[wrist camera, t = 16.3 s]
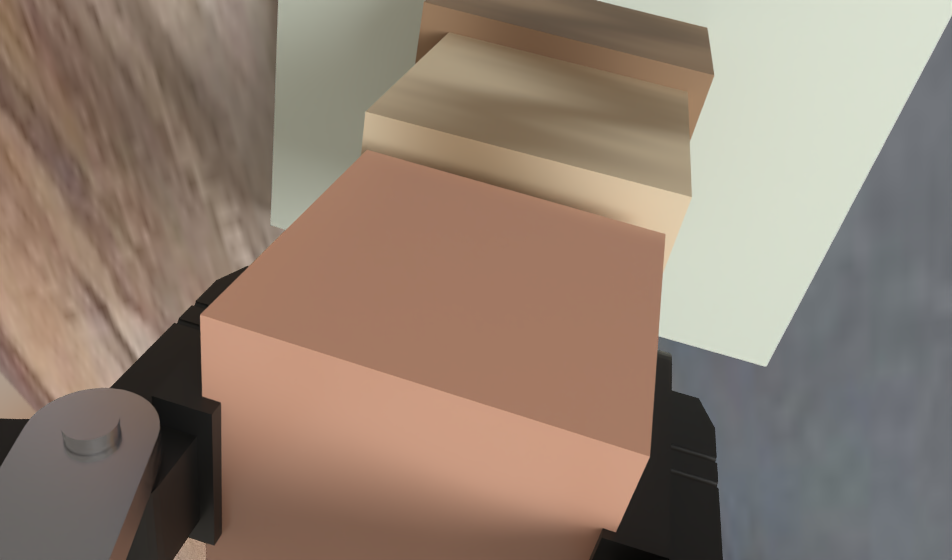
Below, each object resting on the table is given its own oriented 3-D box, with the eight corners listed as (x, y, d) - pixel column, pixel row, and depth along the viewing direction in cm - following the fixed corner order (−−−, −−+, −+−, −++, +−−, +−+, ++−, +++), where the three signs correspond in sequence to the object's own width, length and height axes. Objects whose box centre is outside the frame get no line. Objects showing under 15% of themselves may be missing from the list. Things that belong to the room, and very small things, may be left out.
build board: (971, -64, 17) (989, -56, 16) (762, 343, 24) (765, 366, 23) (306, -216, 18) (285, -218, 17) (286, 208, 25) (270, 225, 24)
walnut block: (707, 27, 18) (714, 75, 15) (633, 238, 21) (625, 315, 18) (469, -32, 19) (423, 1, 15) (432, 182, 22) (389, 248, 19)
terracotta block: (665, 234, 11) (650, 457, 7) (582, 453, 13) (537, 705, 9) (366, 149, 11) (199, 314, 7) (342, 376, 14) (206, 587, 10)
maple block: (687, 91, 15) (691, 197, 11) (617, 292, 18) (599, 437, 14) (448, 32, 15) (365, 111, 11) (416, 237, 18) (340, 361, 14)
